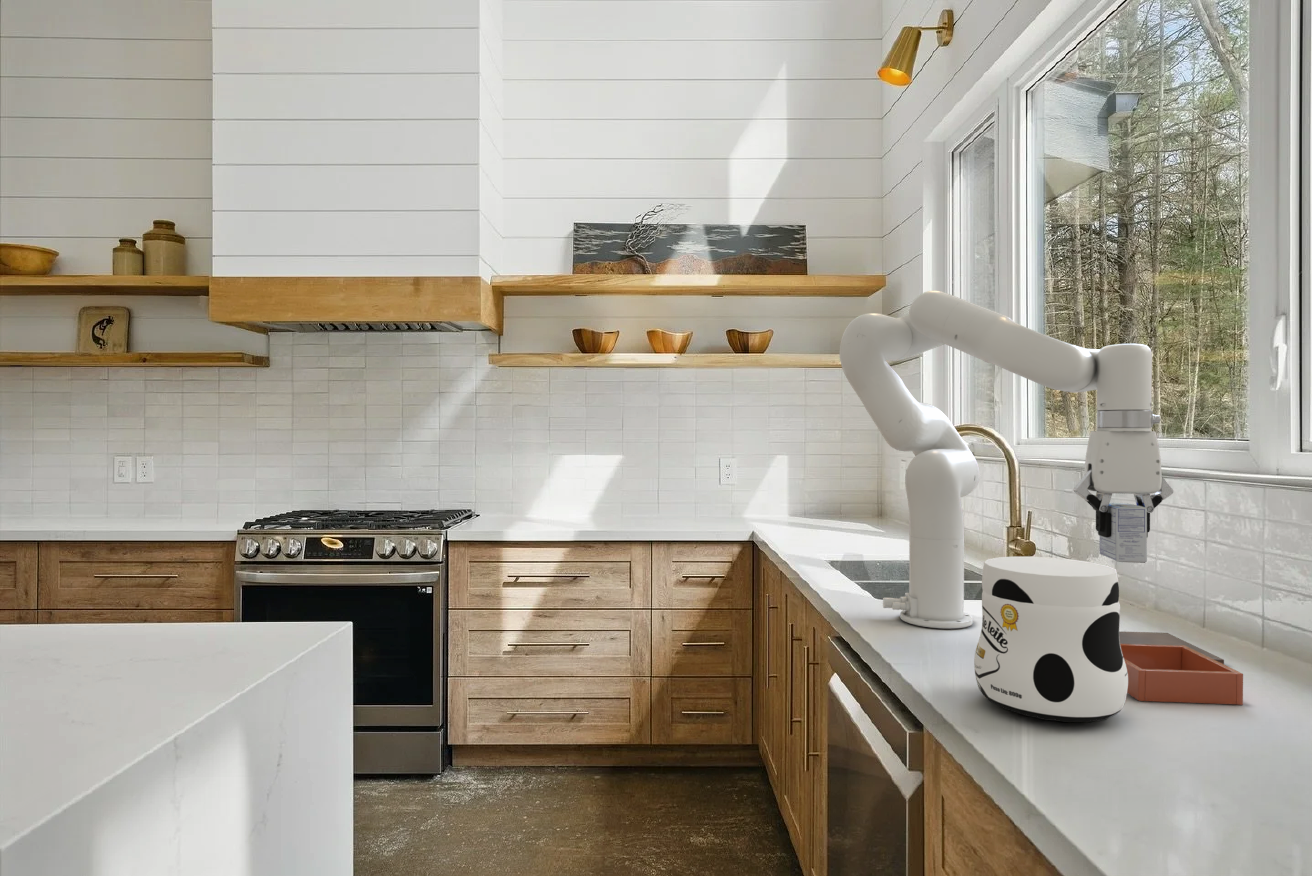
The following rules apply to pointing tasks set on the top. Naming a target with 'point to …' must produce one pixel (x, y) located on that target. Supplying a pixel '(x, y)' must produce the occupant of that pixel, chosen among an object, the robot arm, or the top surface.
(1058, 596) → the milk container
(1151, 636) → the walnut board
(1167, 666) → the orange hollow square frame
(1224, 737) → the top surface
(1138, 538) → the medicine box
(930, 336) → the robot arm
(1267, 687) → the top surface
